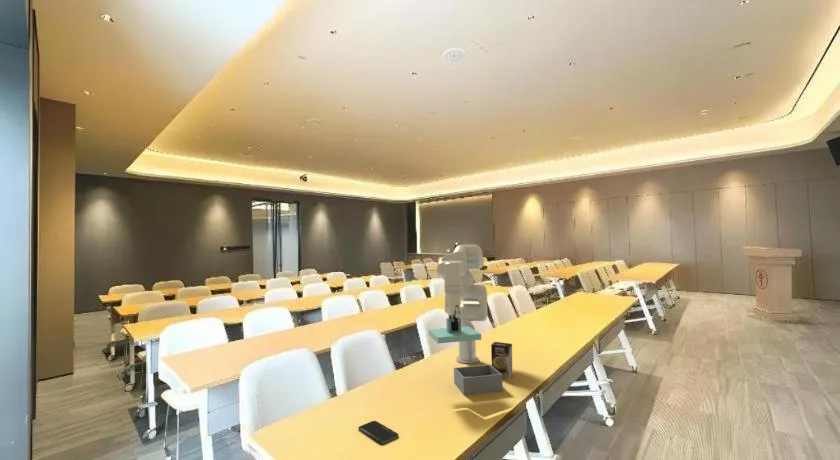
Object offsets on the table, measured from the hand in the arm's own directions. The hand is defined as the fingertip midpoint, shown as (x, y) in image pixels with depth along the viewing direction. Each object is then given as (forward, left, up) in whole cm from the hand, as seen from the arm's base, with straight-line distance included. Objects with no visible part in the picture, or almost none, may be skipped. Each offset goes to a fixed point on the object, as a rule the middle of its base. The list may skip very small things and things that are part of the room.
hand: (453, 329), depth 169 cm
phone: (+29, -38, -28) cm, 55 cm away
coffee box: (-10, +27, -28) cm, 40 cm away
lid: (0, 0, -4) cm, 4 cm away
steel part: (-1, +6, -27) cm, 27 cm away
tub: (+1, +10, -27) cm, 29 cm away
